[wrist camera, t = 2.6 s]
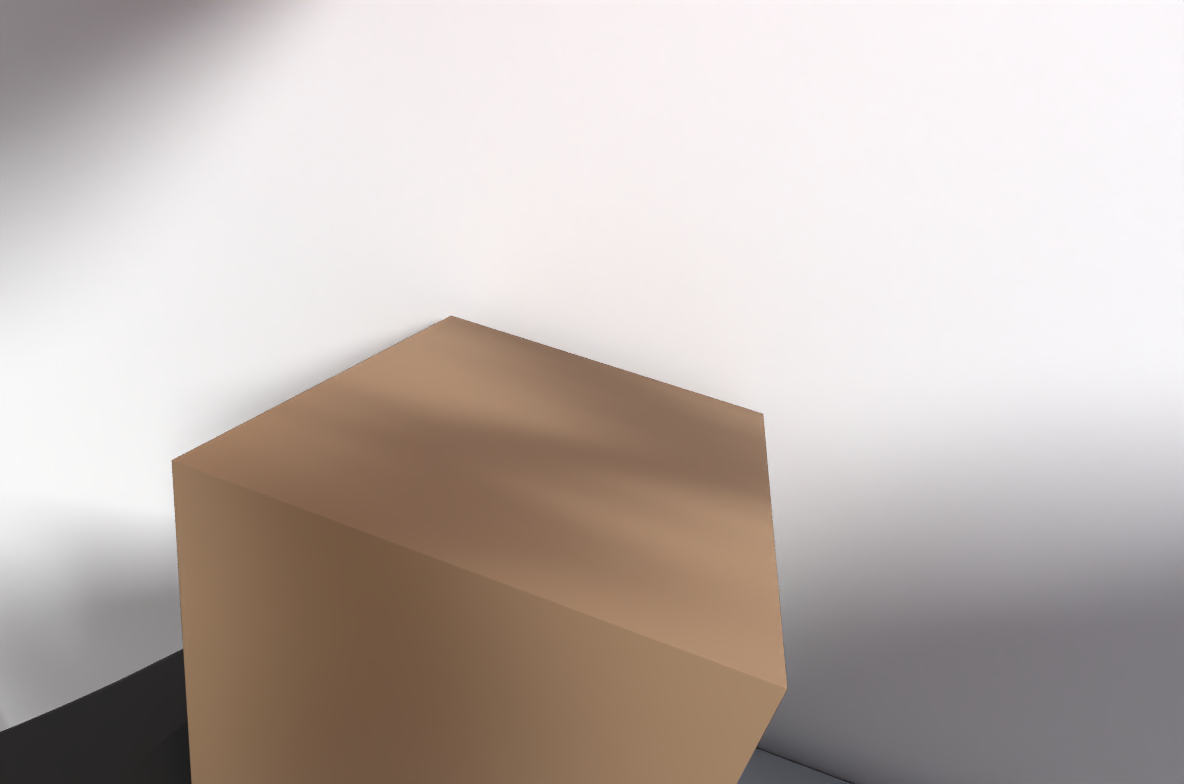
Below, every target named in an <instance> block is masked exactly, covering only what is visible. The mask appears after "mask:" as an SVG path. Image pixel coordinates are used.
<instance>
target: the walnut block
mask: <svg viewBox="0 0 1184 784" xmlns="http://www.w3.org/2000/svg"><path fill="white" fill-rule="evenodd" d="M172 473H173V490H174V506H175V522H176V538H177V554H178V570H179V587H180V603H181V619H182V635H183V651H184V667H185V684H186V700H187V716H188V732H189V748H190V765H191V781H192V784H737V782H738V780H739V778H740V776H741V775H742V773H743V771H744V769H745V767H746V765H747V763H748V762H749V760H750V758H751V756H752V754H753V752H754V750H755V748H756V747H757V745H758V743H759V741H760V739H761V737H762V735H763V734H764V732H765V730H766V728H767V726H768V724H769V722H770V720H771V719H772V717H773V715H774V713H775V711H776V709H777V707H778V706H779V704H780V702H781V700H782V698H783V696H784V694H785V692H786V691H787V680H786V669H785V657H784V646H783V634H782V623H781V612H780V600H779V589H778V578H777V566H776V555H775V544H774V532H773V521H772V509H771V498H770V487H769V475H768V464H767V453H766V441H765V430H764V419H763V414H762V413H759V412H755V411H752V410H749V409H746V408H743V407H740V406H736V405H733V404H730V403H727V402H724V401H720V400H717V399H714V398H711V397H708V396H705V395H701V394H698V393H695V392H692V391H689V390H686V389H682V388H679V387H676V386H673V385H670V384H667V383H663V382H660V381H657V380H654V379H651V378H648V377H644V376H641V375H638V374H635V373H632V372H628V371H625V370H622V369H619V368H616V367H613V366H609V365H606V364H603V363H600V362H597V361H594V360H590V359H587V358H584V357H581V356H578V355H575V354H571V353H568V352H565V351H562V350H559V349H555V348H552V347H549V346H546V345H543V344H540V343H536V342H533V341H530V340H527V339H524V338H521V337H517V336H514V335H511V334H508V333H505V332H502V331H498V330H495V329H492V328H489V327H486V326H482V325H479V324H476V323H473V322H470V321H467V320H463V319H460V318H457V317H454V316H450V317H448V318H446V319H444V320H442V321H440V322H438V323H436V324H434V325H432V326H430V327H428V328H426V329H424V330H423V331H421V332H419V333H417V334H415V335H413V336H411V337H409V338H407V339H405V340H403V341H401V342H399V343H397V344H395V345H394V346H392V347H390V348H388V349H386V350H384V351H382V352H380V353H378V354H376V355H374V356H372V357H370V358H368V359H366V360H365V361H363V362H361V363H359V364H357V365H355V366H353V367H351V368H349V369H347V370H345V371H343V372H341V373H339V374H338V375H336V376H334V377H332V378H330V379H328V380H326V381H324V382H322V383H320V384H318V385H316V386H314V387H312V388H310V389H309V390H307V391H305V392H303V393H301V394H299V395H297V396H295V397H293V398H291V399H289V400H287V401H285V402H283V403H281V404H280V405H278V406H276V407H274V408H272V409H270V410H268V411H266V412H264V413H262V414H260V415H258V416H256V417H254V418H253V419H251V420H249V421H247V422H245V423H243V424H241V425H239V426H237V427H235V428H233V429H231V430H229V431H227V432H225V433H224V434H222V435H220V436H218V437H216V438H214V439H212V440H210V441H208V442H206V443H204V444H202V445H200V446H198V447H196V448H195V449H193V450H191V451H189V452H187V453H185V454H183V455H181V456H179V457H177V458H175V459H173V460H172Z"/></svg>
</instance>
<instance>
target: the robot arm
mask: <svg viewBox="0 0 1184 784" xmlns="http://www.w3.org/2000/svg"><path fill="white" fill-rule="evenodd" d="M0 784H192V781H191V765H190V748H189V732H188V716H187V700H186V684H185V667H184V651H183V649H182V650H180V651H178V652H176V653H174V654H172V655H170V656H168V657H166V658H163V659H161V660H159V661H157V662H155V663H153V664H151V665H149V666H147V667H145V668H143V669H141V670H139V671H137V672H135V673H133V674H131V675H129V676H127V677H125V678H123V679H121V680H119V681H117V682H114V683H112V684H110V685H108V686H106V687H104V688H101V689H99V690H97V691H95V692H93V693H91V694H88V695H86V696H84V697H82V698H79V699H77V700H75V701H73V702H70V703H68V704H66V705H64V706H61V707H59V708H57V709H54V710H52V711H50V712H47V713H45V714H42V715H40V716H38V717H35V718H33V719H31V720H28V721H26V722H24V723H21V724H19V725H16V726H14V727H11V728H9V729H6V730H4V731H1V732H0Z"/></svg>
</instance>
